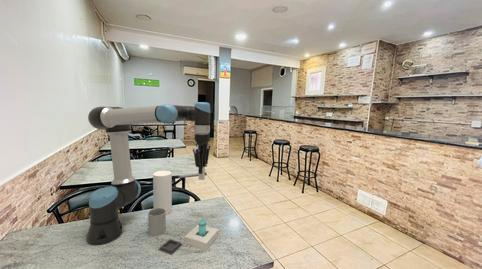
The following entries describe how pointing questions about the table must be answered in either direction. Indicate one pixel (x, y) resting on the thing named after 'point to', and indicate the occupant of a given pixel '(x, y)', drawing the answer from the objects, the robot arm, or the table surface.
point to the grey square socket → (170, 247)
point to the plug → (202, 228)
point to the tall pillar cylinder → (162, 190)
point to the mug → (156, 221)
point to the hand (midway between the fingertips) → (201, 179)
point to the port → (200, 241)
